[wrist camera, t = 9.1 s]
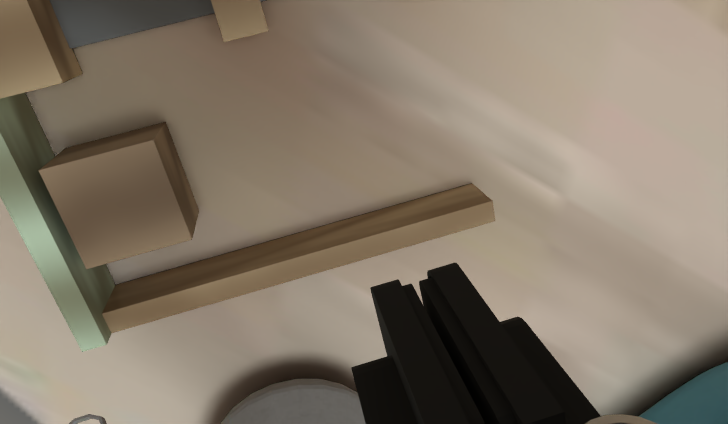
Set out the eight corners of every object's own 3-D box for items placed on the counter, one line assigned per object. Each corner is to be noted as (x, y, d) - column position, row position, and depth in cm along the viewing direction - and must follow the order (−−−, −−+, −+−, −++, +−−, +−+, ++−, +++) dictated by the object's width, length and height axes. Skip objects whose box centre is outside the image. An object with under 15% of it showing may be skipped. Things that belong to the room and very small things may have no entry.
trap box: (-75, -53, 23) (-136, -61, 20) (418, -164, 25) (445, -191, 22) (102, 309, 31) (82, 351, 27) (474, 201, 33) (502, 228, 29)
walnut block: (66, 147, 28) (38, 170, 24) (165, 121, 28) (153, 140, 24) (107, 235, 30) (86, 269, 26) (199, 209, 30) (192, 239, 26)
